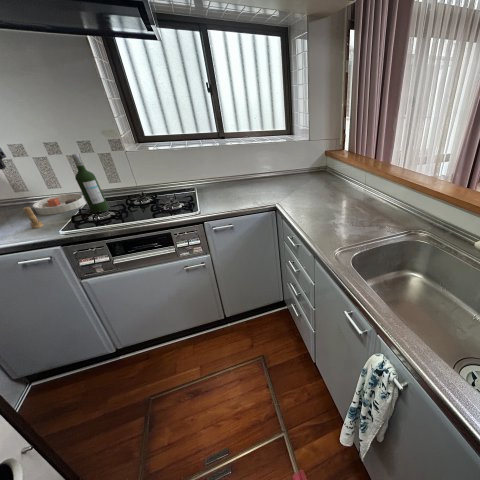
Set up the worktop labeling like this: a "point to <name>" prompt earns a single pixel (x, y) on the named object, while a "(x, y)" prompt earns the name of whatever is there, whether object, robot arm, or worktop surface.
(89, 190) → the wine bottle
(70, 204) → the bowl
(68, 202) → the walnut block
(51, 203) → the terracotta block
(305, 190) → the worktop surface
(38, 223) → the muddler
